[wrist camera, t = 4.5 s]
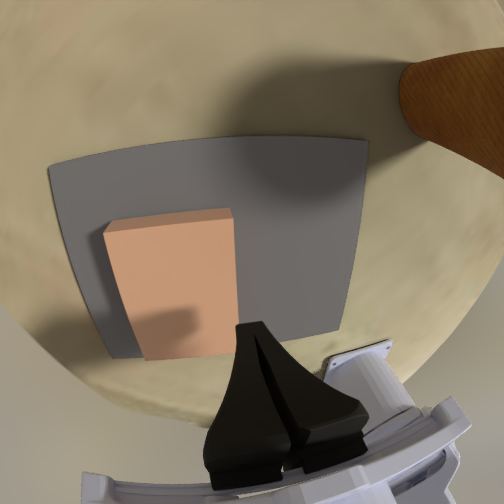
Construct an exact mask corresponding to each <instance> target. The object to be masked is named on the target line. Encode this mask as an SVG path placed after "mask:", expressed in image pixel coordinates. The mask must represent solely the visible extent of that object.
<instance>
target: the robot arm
mask: <svg viewBox="0 0 504 504" xmlns="http://www.w3.org/2000/svg"><path fill="white" fill-rule="evenodd" d="M235 331H236V352H235V359H234V364H233V369H232V373H231V377H230V381H229V384H228V388H227V391H226V393H225V396H224V399H223V402H222V404H221V406H220V409H219V411H218V413H217V415H216V417H215V419H214V421H213V423H212V425H211V427H210V429H209V431H208V433H207V437H206V440H205V444H204V449H203V459H204V465H205V467H206V469H207V470H208V472H209V474H210V480H211V483H199V484H148V483H134V482H123V481H115V480H113V479H112V478H110V477H108V476H105V475H100V474H94V473H89V472H82V483H81V504H456V502H455V500H454V499H453V497H452V495H451V493H450V491H449V490H448V488H447V487H448V485H449V483H450V482H451V480H452V478H453V476H454V474H455V473H456V470H457V469H458V467H459V464H460V459H459V458H460V453H459V451H458V449H457V448H456V446H455V443H454V441H455V440H456V439H457V438H458V437H460V436H461V435H462V434H463V433H464V432H465V431H467V430H468V429H469V428H470V427H471V426H472V424H471V422H470V421H469V419H468V418H467V416H466V415H465V413H464V412H463V410H462V409H461V408H460V406H459V405H458V403H457V402H456V400H455V399H454V397H453V396H450V397H448V398H447V399H445V400H444V401H442V402H441V403H439V404H438V405H437V406H436V407H434V409H433V408H432V407H423V408H422V409H421V410H420V409H419V408H417V407H416V405H415V404H414V402H413V401H412V399H411V397H410V396H409V394H408V393H407V391H406V390H405V388H404V387H403V385H402V384H401V382H400V381H399V379H398V378H397V376H396V375H395V373H394V372H393V370H392V369H391V367H390V366H389V364H388V363H387V361H386V360H385V359H386V357H387V355H388V352H389V350H390V348H391V346H392V344H393V341H392V340H387V341H384V342H380V343H377V344H374V345H371V346H368V347H365V348H361V349H358V350H354V351H351V352H347V353H344V354H340V355H336V356H333V357H331V358H330V360H329V363H328V367H327V370H326V373H325V376H324V380H323V381H322V380H320V379H318V378H317V377H316V376H314V375H313V374H312V373H310V372H309V371H308V370H307V369H305V368H304V367H303V366H302V365H301V364H299V363H298V362H297V361H296V360H295V359H294V358H293V357H292V356H291V355H290V354H289V353H288V352H287V351H286V350H285V349H284V348H283V347H282V345H281V344H280V343H279V342H278V341H277V340H276V338H275V337H274V336H273V335H272V333H271V332H270V331H269V329H268V328H267V326H266V325H265V323H264V322H263V321H256V322H249V323H242V324H237V325H236V326H235ZM282 466H283V470H284V472H281V469H282ZM344 468H345V469H344ZM339 470H340V471H339ZM336 471H337V472H336ZM333 472H334V473H333ZM330 473H331V474H330ZM327 474H328V475H327ZM324 475H325V476H324ZM321 476H322V477H321ZM318 477H319V478H318ZM314 478H315V479H314ZM311 479H312V480H311ZM308 480H309V481H308ZM304 481H305V482H304ZM300 482H301V483H300ZM296 483H298V484H296ZM292 484H294V485H292ZM288 485H291V486H288ZM284 486H287V487H285V488H282V489H279V490H276V491H272V492H268V493H264V494H260V495H255V496H250V497H245V498H240V499H239V497H238V496H232V495H240V494H247V493H253V492H259V491H265V490H270V489H275V488H280V487H284Z"/></svg>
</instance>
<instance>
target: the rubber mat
mask: <svg viewBox="0 0 504 504" xmlns="http://www.w3.org/2000/svg"><path fill="white" fill-rule="evenodd" d="M368 145H369V141H365V140H356V139H344V138H331V137H312V136H236V137H217V138H203V139H192V140H182V141H173V142H164V143H157V144H150V145H143V146H136V147H130V148H125V149H119V150H114V151H108V152H104V153H99V154H94V155H89V156H85V157H81V158H77V159H73V160H69V161H65V162H61V163H57V164H54V165H50V166H48V167H49V173H50V179H51V185H52V190H53V195H54V200H55V205H56V209H57V213H58V218H59V222H60V226H61V229H62V233H63V237H64V240H65V244H66V247H67V250H68V254H69V257H70V260H71V263H72V266H73V269H74V272H75V275H76V277H77V280H78V283H79V286H80V288H81V291H82V293H83V296H84V299H85V301H86V303H87V306H88V308H89V311H90V313H91V315H92V318H93V320H94V322H95V324H96V327H97V329H98V331H99V333H100V335H101V337H102V339H103V341H104V343H105V345H106V347H107V349H108V351H109V353H110V355H111V357H112V358H144V356H143V354H142V351H141V349H140V346H139V344H138V341H137V339H136V336H135V334H134V331H133V329H132V326H131V323H130V321H129V318H128V315H127V313H126V310H125V307H124V304H123V301H122V298H121V295H120V292H119V289H118V286H117V282H116V279H115V276H114V273H113V269H112V266H111V262H110V258H109V255H108V251H107V247H106V243H105V239H104V235H103V232H104V231H105V230H106V228H107V227H108V225H109V224H110V223H111V221H114V220H121V219H128V218H136V217H144V216H152V215H160V214H169V213H177V212H187V211H196V210H207V209H217V208H230V211H231V213H232V216H233V221H234V243H235V264H236V283H237V301H238V318H239V324H242V323H249V322H256V321H263V322H264V323H265V325H266V326H267V328H268V329H269V331H270V332H271V333H272V335H273V336H274V337H275V338H276V340H277V341H278V342H284V341H289V340H294V339H300V338H305V337H309V336H314V335H319V334H323V333H328V332H332V331H337V330H339V327H340V323H341V319H342V315H343V311H344V306H345V302H346V298H347V293H348V288H349V284H350V279H351V274H352V269H353V264H354V258H355V253H356V247H357V241H358V235H359V228H360V222H361V215H362V207H363V199H364V190H365V181H366V171H367V159H368Z"/></svg>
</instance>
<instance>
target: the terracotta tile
mask: <svg viewBox="0 0 504 504" xmlns="http://www.w3.org/2000/svg"><path fill="white" fill-rule="evenodd" d="M103 235H104V239H105V243H106V247H107V251H108V255H109V258H110V262H111V266H112V269H113V273H114V276H115V279H116V282H117V286H118V289H119V292H120V295H121V298H122V301H123V304H124V307H125V310H126V313H127V315H128V318H129V321H130V323H131V326H132V329H133V331H134V334H135V336H136V339H137V341H138V344H139V346H140V349H141V351H142V354H143V356H144V358H145V361H149V360H166V359H180V358H191V357H201V356H211V355H219V354H227V353H235V352H236V331H235V326H236V325H237V324H239V318H238V301H237V283H236V264H235V243H234V221H233V216H232V213H231V211H230V208H217V209H207V210H196V211H187V212H177V213H169V214H160V215H152V216H144V217H136V218H128V219H121V220H114V221H111V223H110V224H109V225H108V227H107V228H106V230H105V231H104V232H103Z"/></svg>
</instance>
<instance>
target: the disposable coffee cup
mask: <svg viewBox="0 0 504 504" xmlns="http://www.w3.org/2000/svg"><path fill="white" fill-rule="evenodd" d="M399 99H400V105H401V109H402V112H403V115H404V117H405V119H406V121H407V123H408V124H409V126H410V127H411V129H412V130H413V131H414V132H415V133H416V134H417V135H419V136H420V137H422V138H424V139H426V140H429V141H431V142H433V143H436V144H438V145H440V146H442V147H445V148H447V149H449V150H451V151H453V152H455V153H457V154H459V155H461V156H463V157H465V158H467V159H469V160H471V161H473V162H475V163H477V164H479V165H480V166H482V167H484V168H486V169H488V170H489V171H491V172H493V173H494V174H496V175H498V176H499V177H501V178H503V179H504V47H501V48H491V49H483V50H476V51H470V52H463V53H458V54H452V55H449V56H448V55H447V56H443V57H438V58H434V59H431V60H426V61H422V62H418V63H413V64H411V65H410V66H408V67H407V68H406V69H405V71H404V72H403V74H402V76H401V80H400V85H399Z"/></svg>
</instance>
